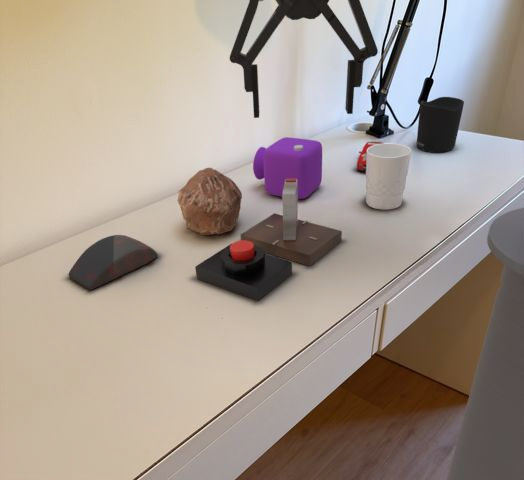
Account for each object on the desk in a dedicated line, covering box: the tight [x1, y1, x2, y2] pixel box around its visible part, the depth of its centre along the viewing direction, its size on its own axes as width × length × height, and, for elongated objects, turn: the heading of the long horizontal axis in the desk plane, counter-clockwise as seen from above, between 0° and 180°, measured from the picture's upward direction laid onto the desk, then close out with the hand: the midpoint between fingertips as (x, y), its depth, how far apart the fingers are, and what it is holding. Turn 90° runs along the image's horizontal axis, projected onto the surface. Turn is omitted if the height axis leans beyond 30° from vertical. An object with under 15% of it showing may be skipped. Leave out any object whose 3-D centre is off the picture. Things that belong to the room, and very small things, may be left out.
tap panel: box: [240, 212, 343, 267], centre depth 90 cm, size 14×10×2 cm
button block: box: [194, 243, 293, 302], centre depth 81 cm, size 12×9×4 cm
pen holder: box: [416, 96, 465, 154], centre depth 122 cm, size 9×9×10 cm
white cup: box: [365, 142, 412, 211], centre depth 98 cm, size 8×8×10 cm
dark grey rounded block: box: [67, 234, 158, 291], centre depth 85 cm, size 8×14×4 cm, turn 136°
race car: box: [356, 141, 384, 172], centre depth 117 cm, size 13×5×4 cm, turn 162°
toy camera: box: [252, 136, 323, 200], centre depth 106 cm, size 11×14×10 cm
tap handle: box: [281, 178, 299, 240], centre depth 86 cm, size 6×2×8 cm, turn 174°
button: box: [230, 239, 255, 261], centre depth 80 cm, size 4×4×2 cm
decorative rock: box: [177, 167, 243, 236], centre depth 94 cm, size 13×11×10 cm
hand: (302, 113), depth 78 cm, fingers open, 13 cm apart
